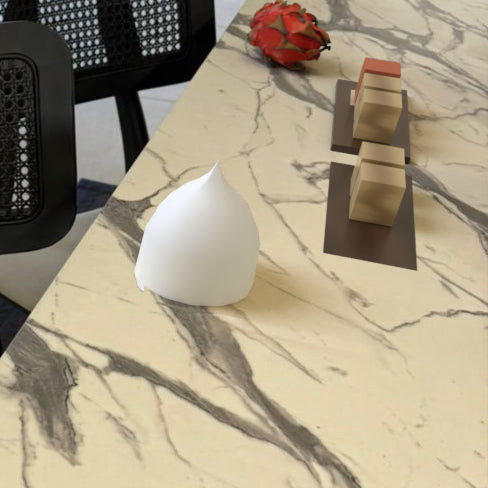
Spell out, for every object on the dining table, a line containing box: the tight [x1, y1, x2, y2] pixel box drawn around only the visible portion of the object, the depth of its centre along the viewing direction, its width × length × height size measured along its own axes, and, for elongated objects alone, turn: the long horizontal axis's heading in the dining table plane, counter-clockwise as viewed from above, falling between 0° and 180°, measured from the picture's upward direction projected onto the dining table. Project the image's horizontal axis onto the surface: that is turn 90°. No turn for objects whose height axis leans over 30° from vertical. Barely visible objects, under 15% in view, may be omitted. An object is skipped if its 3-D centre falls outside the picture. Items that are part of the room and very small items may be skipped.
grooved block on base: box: [322, 142, 418, 272], centre depth 106 cm, size 9×22×5 cm, turn 165°
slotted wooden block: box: [330, 73, 412, 165], centre depth 126 cm, size 9×22×5 cm, turn 165°
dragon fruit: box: [246, 0, 332, 71], centre depth 138 cm, size 8×8×12 cm
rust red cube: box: [355, 56, 402, 103], centre depth 129 cm, size 4×4×4 cm
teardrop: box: [133, 159, 261, 315], centre depth 91 cm, size 11×11×12 cm
